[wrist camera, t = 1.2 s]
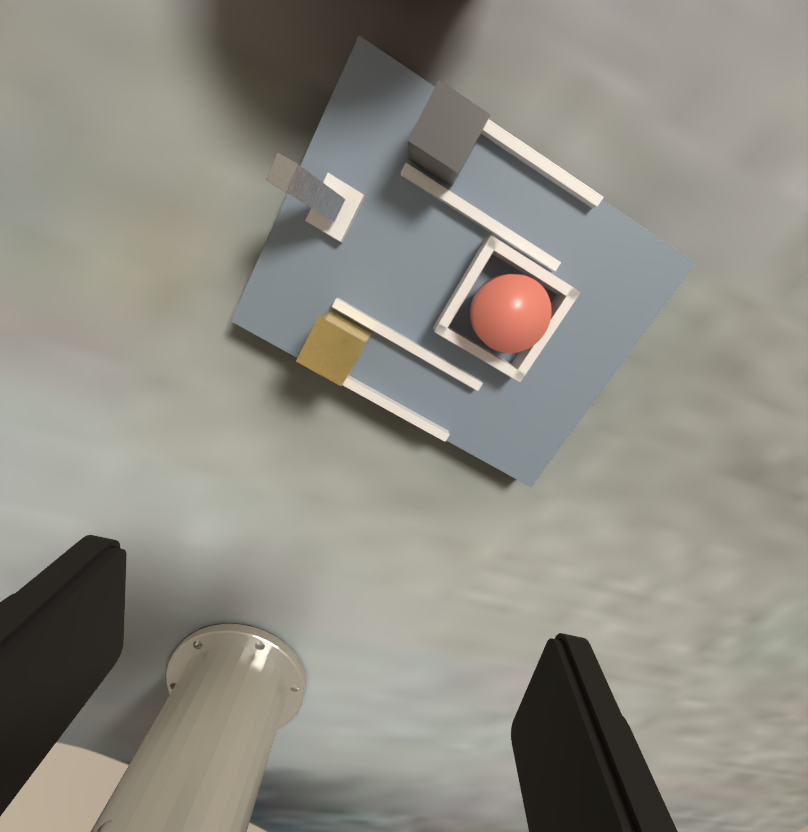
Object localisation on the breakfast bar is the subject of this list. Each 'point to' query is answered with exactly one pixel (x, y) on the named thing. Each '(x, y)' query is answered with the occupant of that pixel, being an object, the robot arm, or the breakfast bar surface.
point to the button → (510, 312)
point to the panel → (456, 274)
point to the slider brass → (333, 347)
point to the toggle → (305, 187)
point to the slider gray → (446, 133)
